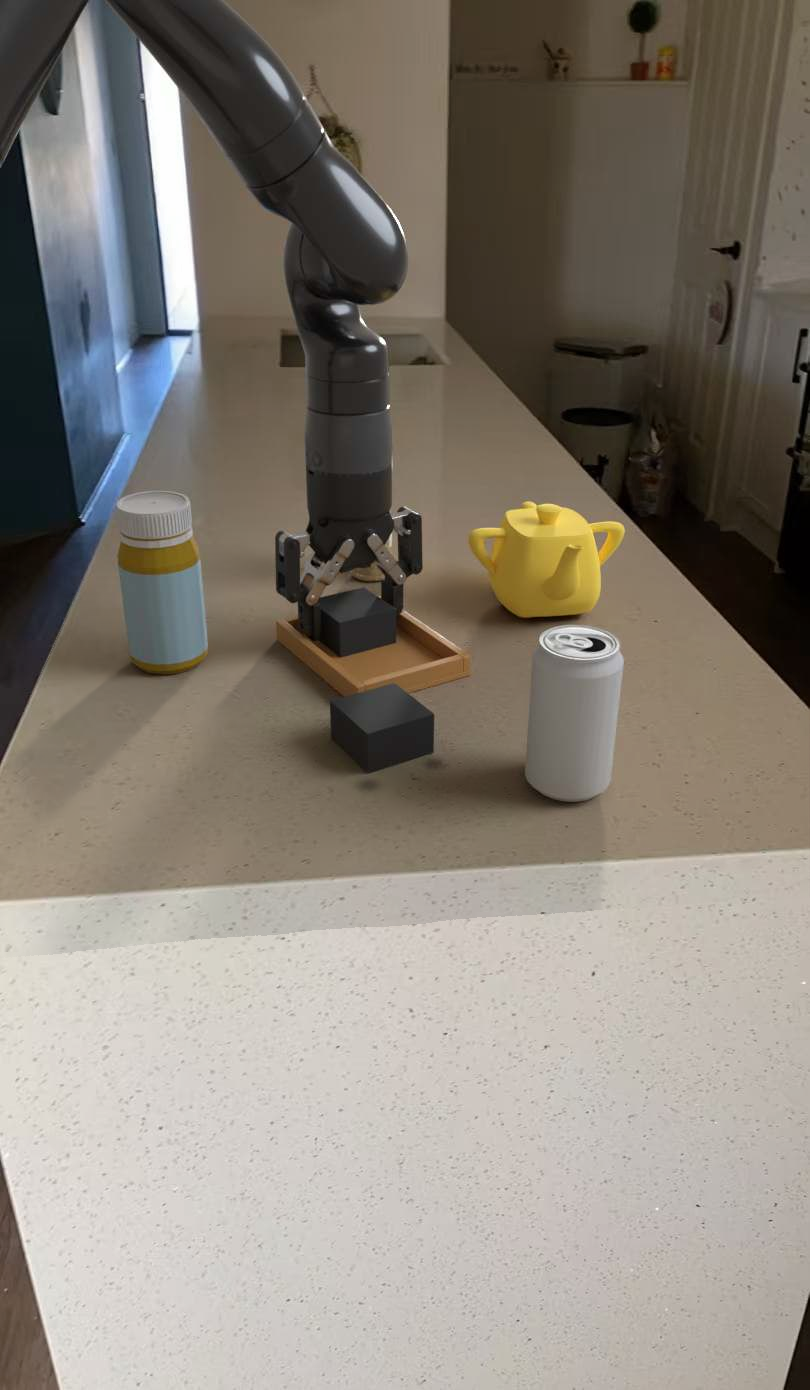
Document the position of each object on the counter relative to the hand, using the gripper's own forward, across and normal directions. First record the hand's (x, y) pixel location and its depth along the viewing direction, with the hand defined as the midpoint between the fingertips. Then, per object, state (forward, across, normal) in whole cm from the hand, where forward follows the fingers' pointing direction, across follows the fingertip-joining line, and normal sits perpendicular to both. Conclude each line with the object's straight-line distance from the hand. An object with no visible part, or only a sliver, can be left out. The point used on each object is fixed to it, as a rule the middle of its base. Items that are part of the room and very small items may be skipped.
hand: (351, 627), depth 102 cm
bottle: (+2, +16, -6) cm, 17 cm away
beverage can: (+2, -2, +29) cm, 30 cm away
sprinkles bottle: (+2, -10, -14) cm, 17 cm away
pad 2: (+2, +7, +17) cm, 19 cm away
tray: (+2, 0, +3) cm, 4 cm away
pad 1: (+1, 0, 0) cm, 1 cm away
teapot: (+2, -21, +2) cm, 21 cm away
